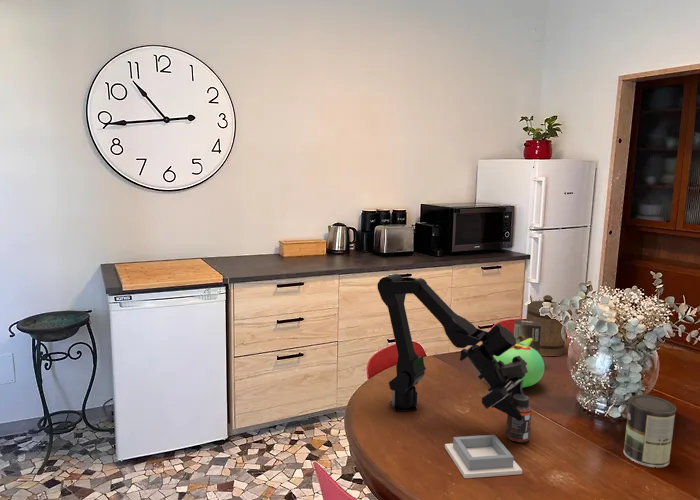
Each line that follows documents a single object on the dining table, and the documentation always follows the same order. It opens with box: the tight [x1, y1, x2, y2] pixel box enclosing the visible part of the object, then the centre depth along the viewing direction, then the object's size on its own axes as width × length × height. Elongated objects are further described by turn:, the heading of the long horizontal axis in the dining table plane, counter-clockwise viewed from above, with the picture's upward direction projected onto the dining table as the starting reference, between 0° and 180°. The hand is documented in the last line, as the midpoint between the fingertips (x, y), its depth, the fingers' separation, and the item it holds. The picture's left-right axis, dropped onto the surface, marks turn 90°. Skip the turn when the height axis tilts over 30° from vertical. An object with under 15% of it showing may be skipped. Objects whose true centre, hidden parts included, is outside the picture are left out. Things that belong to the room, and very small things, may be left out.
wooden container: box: [525, 294, 567, 357], centre depth 214 cm, size 15×15×22 cm
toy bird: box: [494, 338, 545, 389], centre depth 180 cm, size 18×17×15 cm
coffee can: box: [622, 394, 677, 469], centre depth 137 cm, size 10×10×14 cm
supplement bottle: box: [505, 394, 533, 443], centre depth 144 cm, size 6×6×11 cm
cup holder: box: [444, 434, 523, 479], centre depth 134 cm, size 14×14×4 cm
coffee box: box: [513, 319, 541, 354], centre depth 198 cm, size 9×6×16 cm
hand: (524, 415), depth 143 cm, fingers closed on supplement bottle, 6 cm apart
